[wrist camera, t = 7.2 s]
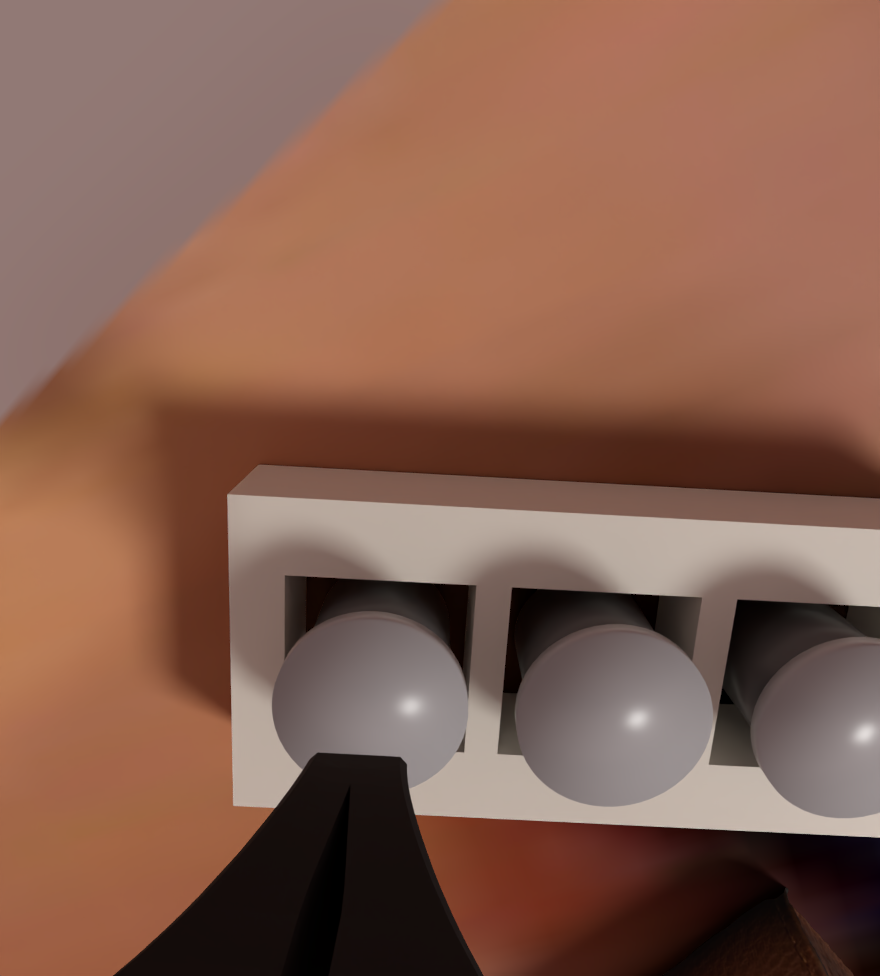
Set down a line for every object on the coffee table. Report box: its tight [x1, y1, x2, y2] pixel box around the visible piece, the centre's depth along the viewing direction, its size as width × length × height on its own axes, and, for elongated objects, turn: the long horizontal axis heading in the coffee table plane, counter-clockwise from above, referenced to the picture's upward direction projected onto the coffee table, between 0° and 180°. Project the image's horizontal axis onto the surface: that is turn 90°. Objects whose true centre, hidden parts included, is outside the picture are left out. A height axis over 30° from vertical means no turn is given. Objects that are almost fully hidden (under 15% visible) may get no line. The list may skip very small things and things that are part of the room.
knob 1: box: [272, 578, 468, 788], centre depth 15 cm, size 4×4×4 cm
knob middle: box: [514, 589, 713, 807], centre depth 15 cm, size 4×4×4 cm
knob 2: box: [722, 599, 880, 818], centre depth 15 cm, size 4×4×4 cm
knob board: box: [227, 465, 880, 837], centre depth 16 cm, size 15×7×2 cm, turn 87°
